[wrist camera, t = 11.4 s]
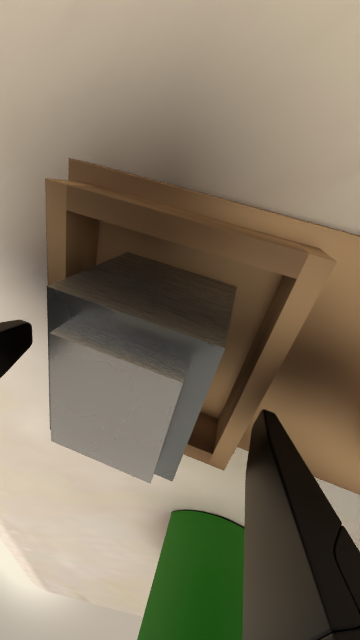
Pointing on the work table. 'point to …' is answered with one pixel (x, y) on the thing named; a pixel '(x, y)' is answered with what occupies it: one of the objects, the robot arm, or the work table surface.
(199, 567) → the motor
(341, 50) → the work table surface
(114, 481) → the work table surface
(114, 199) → the wooden tray
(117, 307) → the stepped grey block
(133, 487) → the work table surface
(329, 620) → the robot arm
